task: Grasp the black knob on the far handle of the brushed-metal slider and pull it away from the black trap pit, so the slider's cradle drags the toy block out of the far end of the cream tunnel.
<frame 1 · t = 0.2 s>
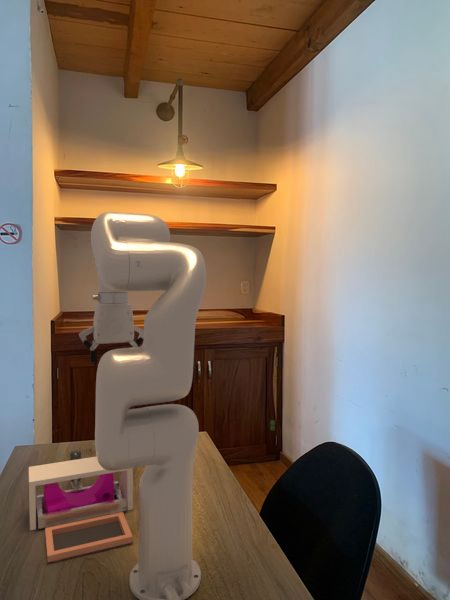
hand: (113, 363, 119), 30 cm above the table, tool pointing down, fingers open, 9 cm apart
tunnel: (81, 510, 103), on the table
trap pit: (88, 539, 92), on the table
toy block: (80, 512, 103), resting in slider
slider: (79, 482, 107), point 5 cm above the table, slide at 0.1 cm
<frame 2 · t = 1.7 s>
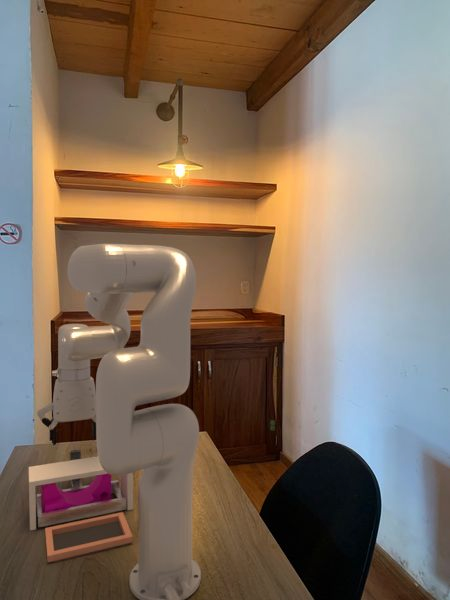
hand: (74, 440, 114), 12 cm above the table, tool pointing down, fingers open, 9 cm apart
slider: (79, 481, 107), point 5 cm above the table, slide at 0.6 cm
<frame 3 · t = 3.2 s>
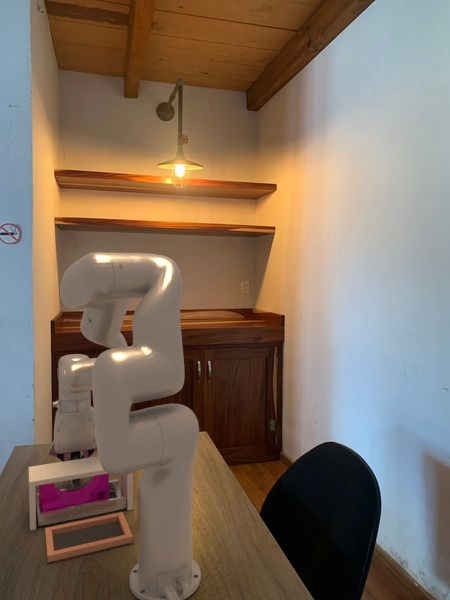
hand: (75, 475, 114), 3 cm above the table, tool pointing down, fingers closed on slider, 2 cm apart
slider: (78, 480, 108), point 5 cm above the table, slide at 1.1 cm, touching gripper
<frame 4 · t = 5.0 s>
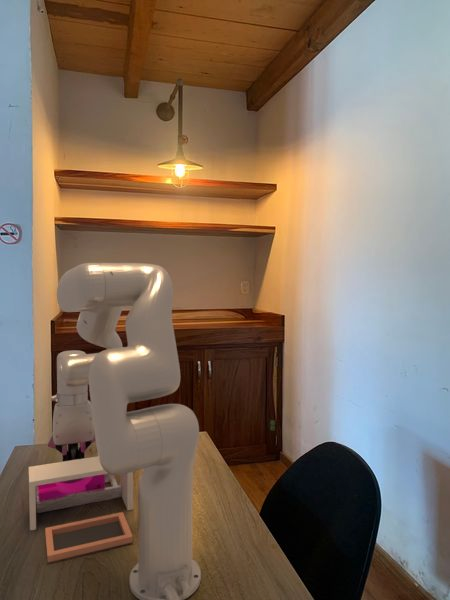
hand: (73, 466, 119), 3 cm above the table, tool pointing down, fingers closed on slider, 2 cm apart
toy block: (72, 501, 108), resting in slider
slider: (76, 470, 113), point 5 cm above the table, slide at 6.8 cm, touching gripper, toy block
everything else where it was.
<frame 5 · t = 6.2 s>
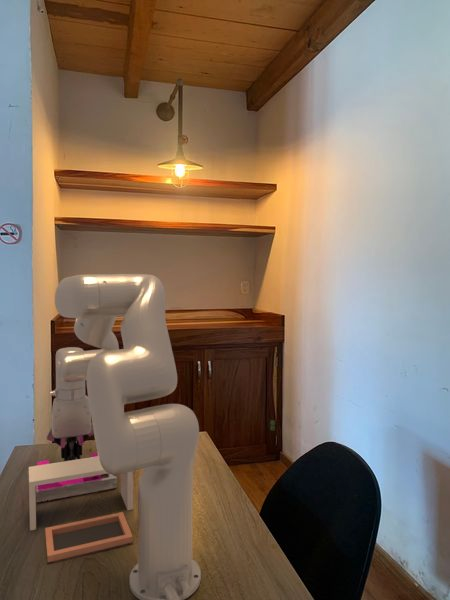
hand: (71, 458, 124), 3 cm above the table, tool pointing down, fingers closed on slider, 2 cm apart
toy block: (70, 491, 113), resting in slider
slider: (74, 462, 118), point 5 cm above the table, slide at 11.9 cm, touching gripper
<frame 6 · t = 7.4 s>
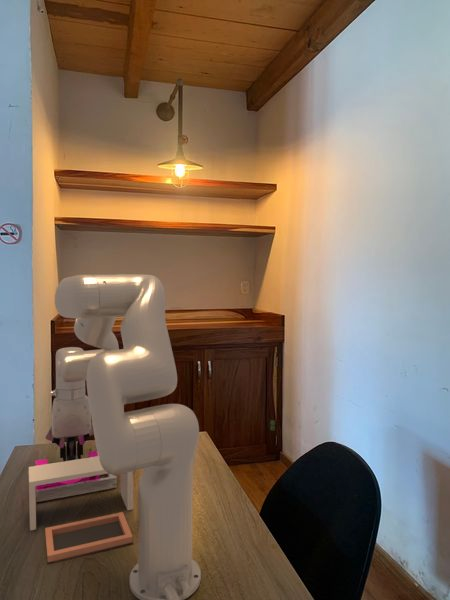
hand: (71, 458, 124), 3 cm above the table, tool pointing down, fingers open, 3 cm apart
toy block: (68, 490, 114), resting in slider
slider: (74, 462, 118), point 5 cm above the table, slide at 12.0 cm
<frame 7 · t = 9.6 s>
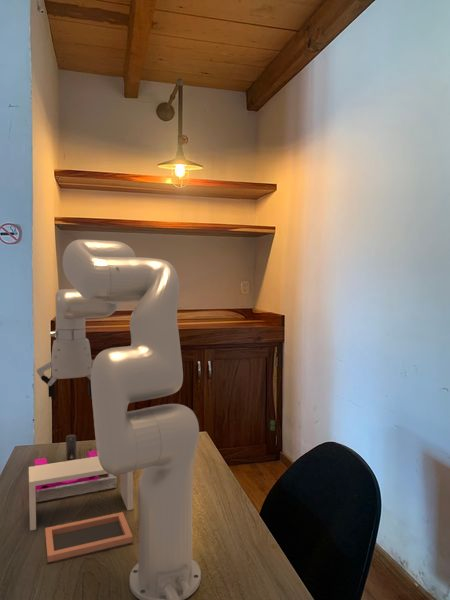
hand: (71, 397, 123), 20 cm above the table, tool pointing down, fingers open, 9 cm apart
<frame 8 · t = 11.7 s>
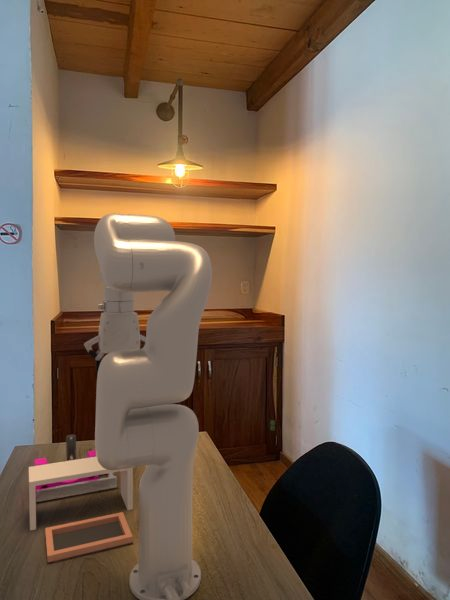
hand: (119, 373, 117), 28 cm above the table, tool pointing down, fingers open, 9 cm apart
at the end: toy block inside the target area (2.6 cm from its centre), resting in slider; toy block tilted 0°; slider slide at 12.0 cm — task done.
